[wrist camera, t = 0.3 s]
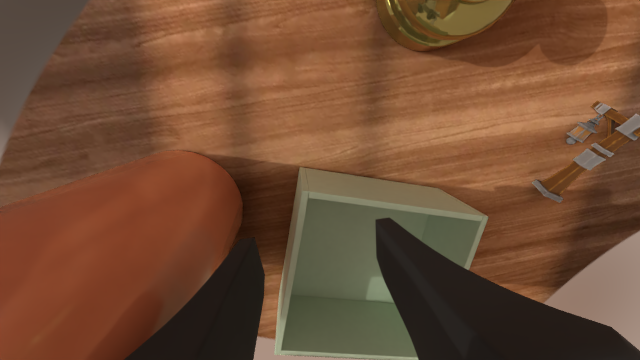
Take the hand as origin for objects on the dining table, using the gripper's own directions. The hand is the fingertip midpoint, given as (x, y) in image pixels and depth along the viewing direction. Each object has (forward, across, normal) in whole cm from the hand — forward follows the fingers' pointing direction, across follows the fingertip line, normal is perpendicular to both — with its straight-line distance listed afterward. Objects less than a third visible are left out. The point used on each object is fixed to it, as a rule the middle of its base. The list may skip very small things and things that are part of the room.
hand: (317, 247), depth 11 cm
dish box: (+9, -3, +8) cm, 12 cm away
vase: (+10, +10, +2) cm, 14 cm away
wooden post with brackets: (+11, -21, +2) cm, 24 cm away
